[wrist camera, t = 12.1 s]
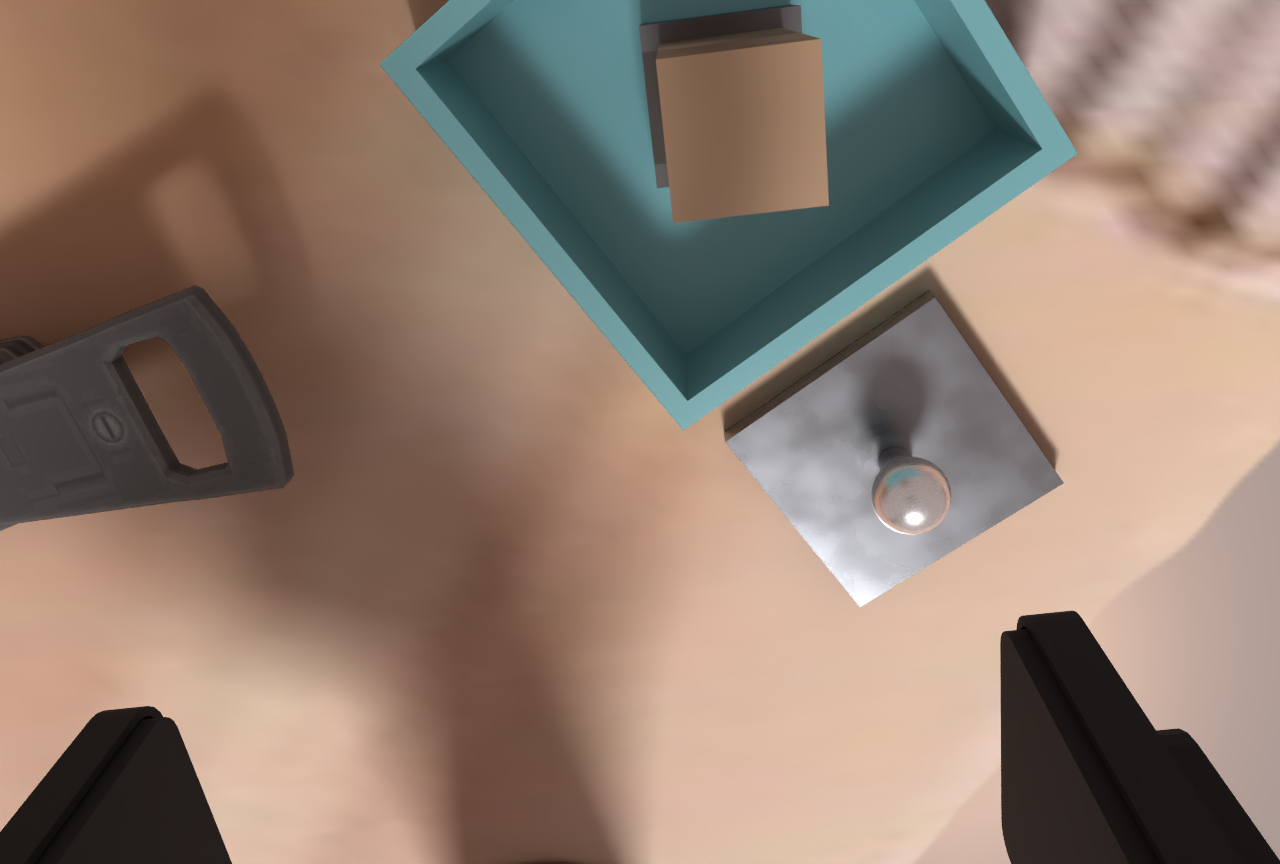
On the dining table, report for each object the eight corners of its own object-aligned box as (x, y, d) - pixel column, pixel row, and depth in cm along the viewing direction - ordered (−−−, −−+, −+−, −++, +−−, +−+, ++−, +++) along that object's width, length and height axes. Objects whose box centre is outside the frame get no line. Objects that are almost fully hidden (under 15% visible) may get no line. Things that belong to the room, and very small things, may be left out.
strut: (790, 4, 35) (845, 8, 24) (799, 157, 37) (853, 226, 26) (641, 23, 36) (628, 36, 24) (658, 174, 38) (652, 248, 27)
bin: (1017, 130, 38) (1077, 153, 32) (681, 372, 42) (683, 430, 36) (773, -263, 33) (793, -315, 27) (422, 53, 37) (379, 64, 32)
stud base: (1055, 472, 43) (1106, 536, 38) (856, 594, 46) (879, 669, 41) (928, 290, 40) (966, 333, 35) (724, 432, 43) (731, 491, 38)
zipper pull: (309, 498, 37) (-258, 656, 41) (360, 427, 43) (-138, 570, 47) (197, 268, 34) (-410, 462, 37) (269, 226, 40) (-259, 396, 43)
